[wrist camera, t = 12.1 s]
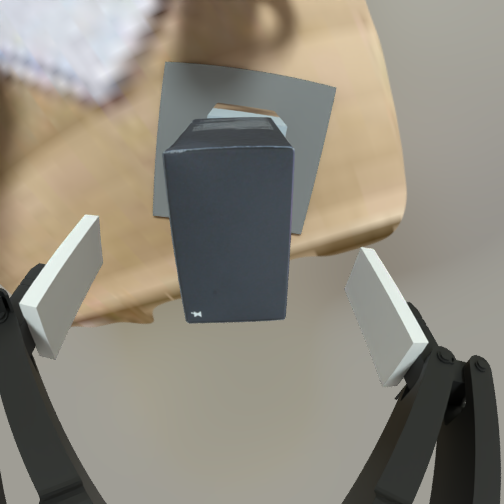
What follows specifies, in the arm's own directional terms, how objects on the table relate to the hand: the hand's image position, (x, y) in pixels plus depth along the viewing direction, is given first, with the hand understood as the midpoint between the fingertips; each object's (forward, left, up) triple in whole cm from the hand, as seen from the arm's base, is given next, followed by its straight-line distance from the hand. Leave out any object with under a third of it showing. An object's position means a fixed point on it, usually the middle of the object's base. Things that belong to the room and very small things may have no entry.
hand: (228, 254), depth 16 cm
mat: (0, 0, -22) cm, 22 cm away
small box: (0, 0, -11) cm, 11 cm away
